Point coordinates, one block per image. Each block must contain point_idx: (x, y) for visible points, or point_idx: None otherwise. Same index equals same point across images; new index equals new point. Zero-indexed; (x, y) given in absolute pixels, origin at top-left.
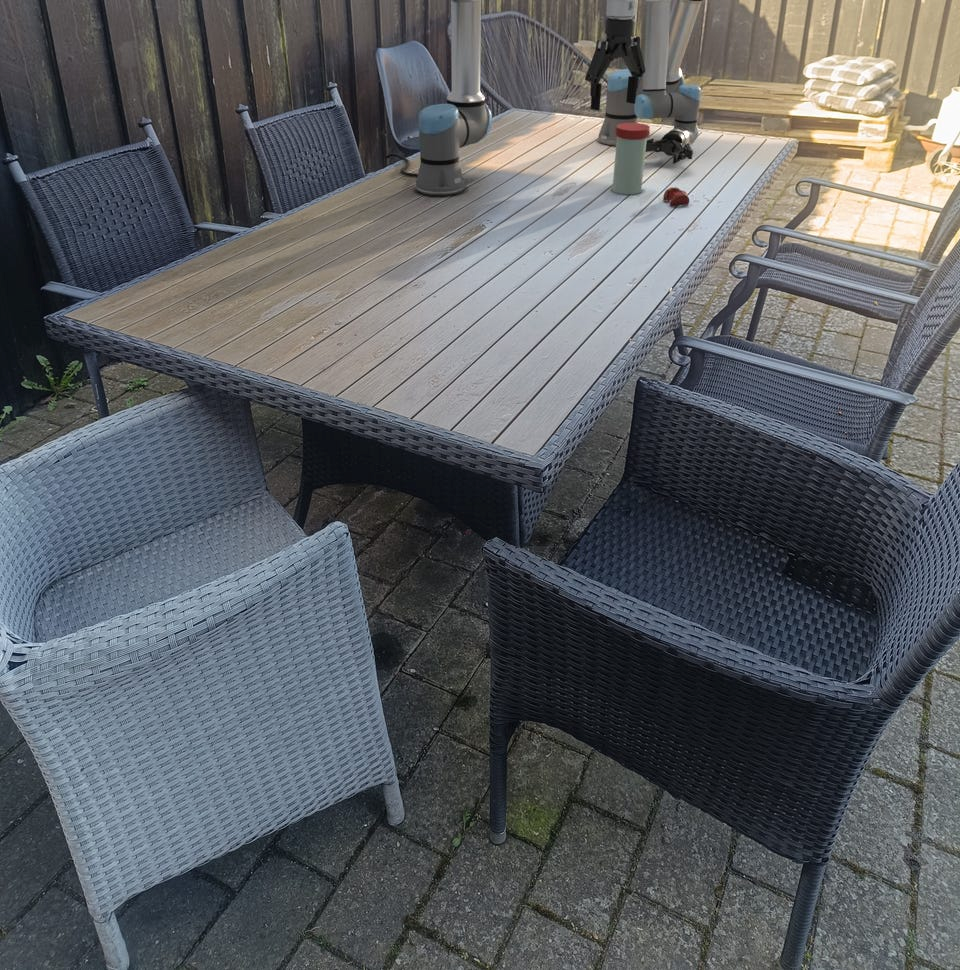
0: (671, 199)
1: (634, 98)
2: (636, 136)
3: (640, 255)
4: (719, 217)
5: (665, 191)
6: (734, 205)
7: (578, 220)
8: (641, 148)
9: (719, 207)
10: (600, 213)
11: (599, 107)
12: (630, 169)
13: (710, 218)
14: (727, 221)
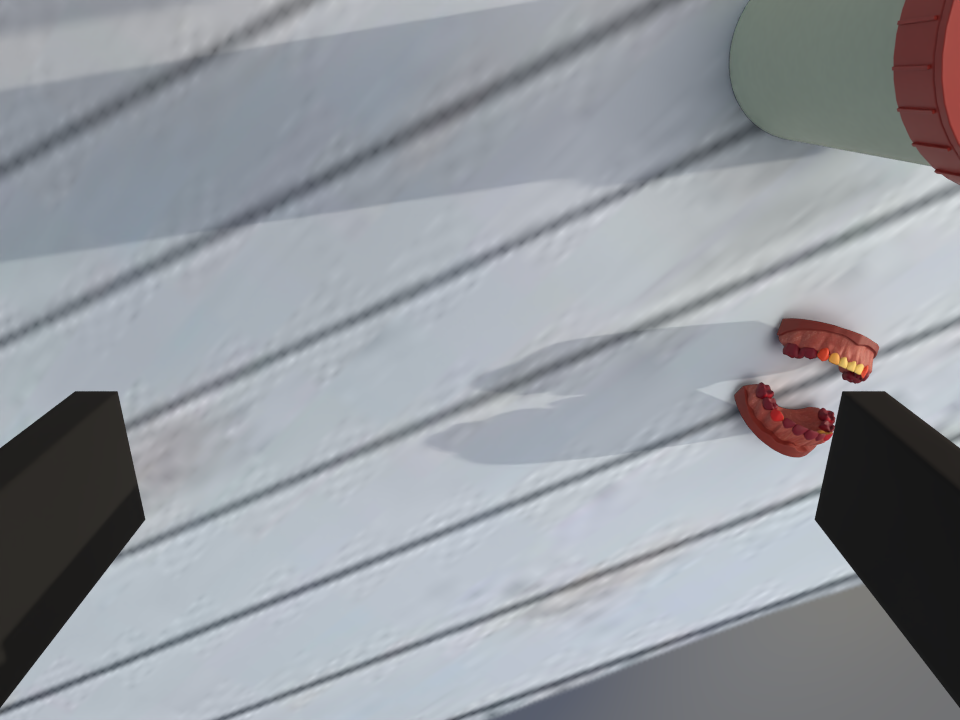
0: (753, 399)
1: (863, 564)
2: (954, 175)
3: (209, 662)
4: (757, 584)
5: (819, 324)
6: None
7: (239, 273)
8: None
9: None
10: (398, 262)
11: (120, 543)
12: (812, 128)
13: (720, 573)
14: (736, 624)
